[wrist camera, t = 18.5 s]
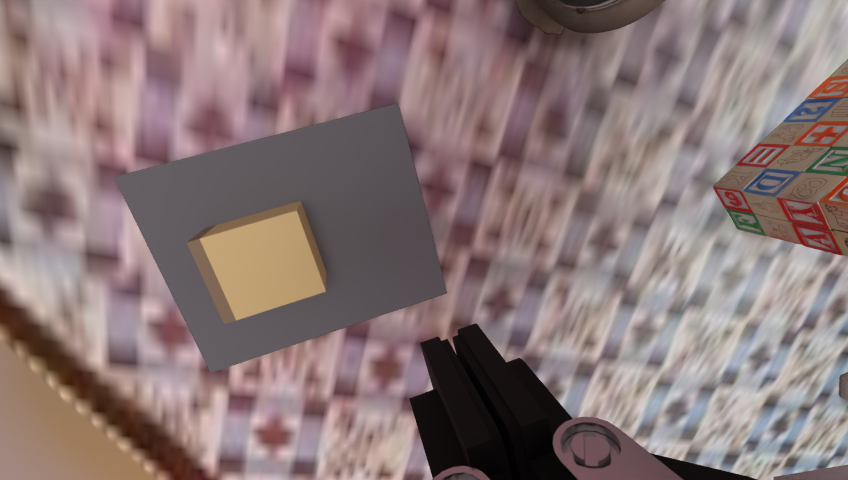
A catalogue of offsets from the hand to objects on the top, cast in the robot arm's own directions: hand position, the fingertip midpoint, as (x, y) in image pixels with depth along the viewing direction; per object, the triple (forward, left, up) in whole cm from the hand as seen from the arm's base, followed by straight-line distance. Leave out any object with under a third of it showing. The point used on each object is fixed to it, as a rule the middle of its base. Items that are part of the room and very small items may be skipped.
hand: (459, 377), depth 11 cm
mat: (+6, 0, -22) cm, 23 cm away
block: (+5, 0, -20) cm, 20 cm away
